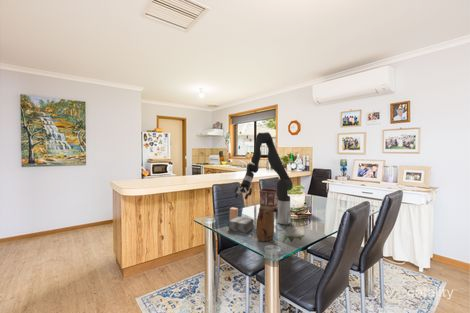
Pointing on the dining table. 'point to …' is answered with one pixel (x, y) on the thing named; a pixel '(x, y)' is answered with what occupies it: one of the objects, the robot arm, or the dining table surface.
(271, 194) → the reddish brown crate
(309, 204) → the candy box
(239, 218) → the charcoal plinth
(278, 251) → the dining table surface
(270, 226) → the block
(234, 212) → the terracotta block
